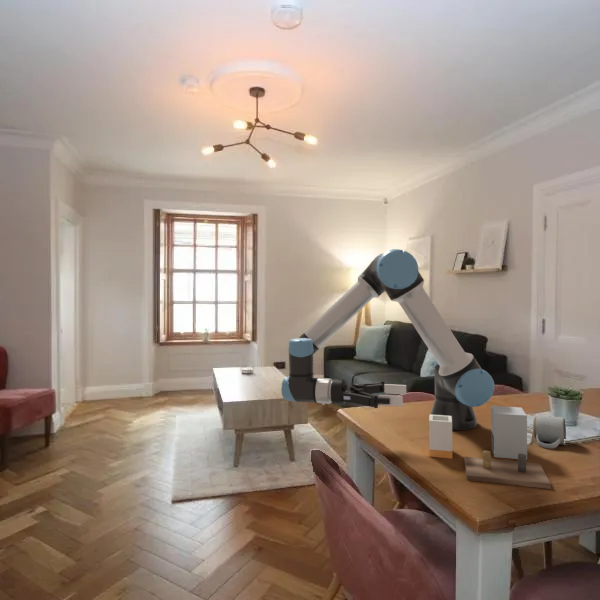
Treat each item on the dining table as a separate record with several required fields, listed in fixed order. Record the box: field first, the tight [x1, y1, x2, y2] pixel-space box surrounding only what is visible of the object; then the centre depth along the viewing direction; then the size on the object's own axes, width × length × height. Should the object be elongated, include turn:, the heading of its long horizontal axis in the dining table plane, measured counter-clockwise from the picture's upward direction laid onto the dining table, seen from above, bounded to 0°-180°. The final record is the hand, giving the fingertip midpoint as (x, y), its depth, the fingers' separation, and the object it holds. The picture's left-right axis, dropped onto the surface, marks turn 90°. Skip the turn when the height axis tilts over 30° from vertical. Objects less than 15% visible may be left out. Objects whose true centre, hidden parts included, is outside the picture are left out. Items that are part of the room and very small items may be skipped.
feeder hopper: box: [490, 405, 528, 461], centre depth 122 cm, size 8×8×12 cm
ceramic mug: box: [532, 415, 567, 449], centre depth 129 cm, size 11×8×8 cm
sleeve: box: [428, 414, 453, 459], centre depth 123 cm, size 6×6×10 cm
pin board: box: [463, 450, 552, 490], centre depth 109 cm, size 12×18×5 cm, turn 72°
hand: (404, 395), depth 125 cm, fingers open, 13 cm apart
